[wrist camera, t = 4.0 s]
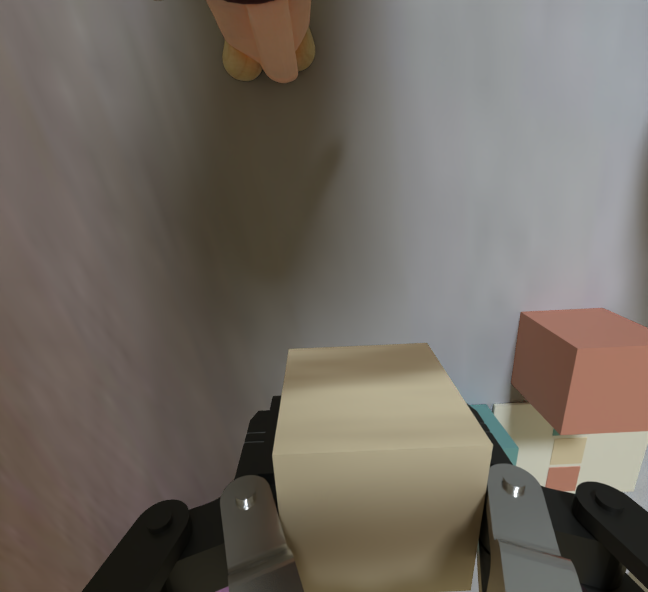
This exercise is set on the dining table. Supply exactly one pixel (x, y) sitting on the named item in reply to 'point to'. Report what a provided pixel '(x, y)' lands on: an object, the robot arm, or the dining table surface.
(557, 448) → the page
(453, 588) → the maple block
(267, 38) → the grandmother figurine
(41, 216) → the dining table surface
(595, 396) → the red block
